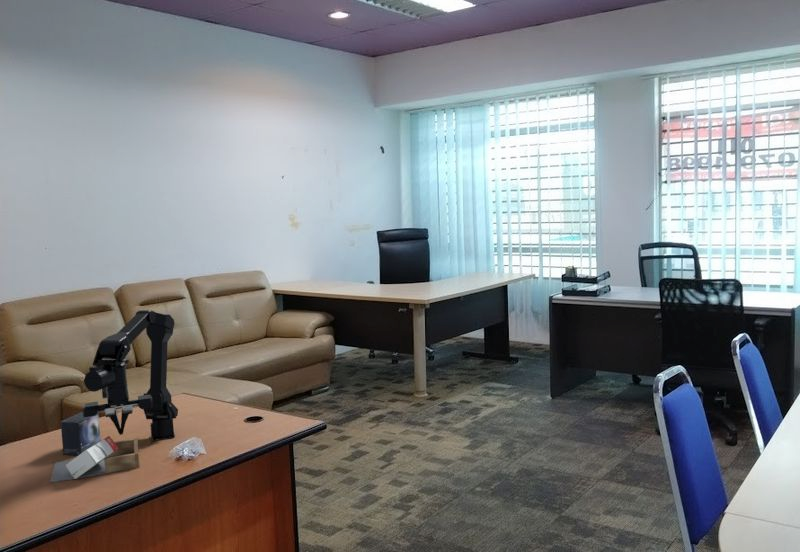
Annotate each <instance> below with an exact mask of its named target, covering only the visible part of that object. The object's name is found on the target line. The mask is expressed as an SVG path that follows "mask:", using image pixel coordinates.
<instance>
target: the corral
mask: <svg viewBox="0 0 800 552" xmlns="http://www.w3.org/2000/svg"><path fill="white" fill-rule="evenodd" d="M114 443H115V444H116V445H117V447H118V449H117V450H116V451H115V452H113V453H112V454H110V455H109V456H108V457H106V458H104V462H105V473H106V474H108V473H114V472H121V471H125V470H132V469H137V468H140V456H139V443H138V437H136V438H130V439H129V438H128V439H124V440H116V441H114Z"/></svg>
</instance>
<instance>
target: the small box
mask: <svg viewBox="0 0 800 552" xmlns="http://www.w3.org/2000/svg"><path fill="white" fill-rule="evenodd" d="M60 429H61V441H62V444H61V445H62V455H73V456H79V455H80V454H81V453H83V452H84V451H85V450H87V449H89V448H90V447H92V446H93V445H95V444H97V443H98V442H100V441H101V429H100V415H99V412H98V413H97V415H96V416H91V417H83V411H80V412H79V413H76V414H74V415H71V416H70V417H67V418H65V419H63V420H61V421H60Z"/></svg>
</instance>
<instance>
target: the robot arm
mask: <svg viewBox="0 0 800 552" xmlns="http://www.w3.org/2000/svg"><path fill="white" fill-rule="evenodd" d="M174 327H175V319H174V318H173V317H172V315H171V314H168V313H167V314H164V313H158V312H156V311H154V310H151V309H150V310H149V309H147V310H145V309H143V310H140V309H139V310H138V311H136V312H135V315H134V316H133V317H132V318H131V319H130V320H129V321H128V322H127V323H125V325H123V327H122V328H121V329H120V330H119V331H118V332H116V333H114V334H112V335H111V334H110V335H109V336H106V337H105V338H104V339H102V340H101V341H100V342H99V343H98V347H97V349H96V352H95V354H94V355H95V356H94V358H93V362H92V366H89V368H88V369H89V371H88V372H87V373H85V376H84V379H83V383H84V386H85V388H86V389H87V390H88V391H90V392H93V393H94V392H99V391H101V393H102V394H101V396H102V399H105V400H106V401H107V403H102V404H99V401H94V402H93V401H92V402H85V403H84V404H83V407H82V412H83V417H91V416H96V415H97V413H98V414H99V412H104V413H105V414H104V415H105V418H110V421H112V423H113V424H114V426H115V429H116V430H117V432H118V434H119V435H120V436H121V435H123V434H124V430H125V426H126V423H127V420H128V417H129V415H130V414H133V411H134V410H133V408H134V407H138V408H139V409H141V410H143V413H144V416H145V418H146V420H151V422H150V423H149V424H150V436H151V438H153V439H152V440H153V441H160V440H165V439H166V440H167V439H172V438H173V439H174V438H175V436H176V434H175V430H174V419H177V417H178V414H179V408H177V407H176V405H175V404H174V402H172V401H173V400H172V394H171V393H170V391H169V390H168V389H169V388H167V379H168V377H167V374H168V373H167V372H168V342H169V340H170V339H171V337H172V336H173V335H174V329H175V328H174ZM144 330H145V332H146V336H147V337H148V339H149V341H150V342H151V343H150V374H149V375H150V379H149V380H150V381H149V388H148V390H147V392H145V393H143V395H138V396H137V399H131V400H130V398H129V397H130V396H129V395H130V394H129V390H128V378H127V370H126V369H127V367H126V365H128V364H129V363H130V359H128V358H126V357H127V355H128V354H129V352H131V350H132V347H131V346H132V343H134V341H135V340H136V339H137V338H138V337H139V336H140V335H141V333H142V332H143V331H144ZM119 409H121V419H120V420H119V416H118V410H119Z"/></svg>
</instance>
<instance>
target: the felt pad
mask: <svg viewBox="0 0 800 552" xmlns="http://www.w3.org/2000/svg"><path fill="white" fill-rule="evenodd" d="M72 460H73V459H70V460H63V461H58V462H54V466H53V469H52V472H51V478H50V481H49V483H50V484H51V483H52V484H54V483H58V482H64V481H70V480H76V479H82V478H87V477H94V476H99V475H105V474H107V473H105V462H104V460H102V461H101V462H100V463H98V464H97V465H95V466H94V467H92V468H91V469H90V470H88V471H87V472H85V473H84V474H82V475H81V476H79V477H78V478H76V479H74V478H73V476H72V475H71V474H70V472H69V471H68V470H67V468H66V466H65V465H66V464H68V463H69V462H70V461H72Z"/></svg>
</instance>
